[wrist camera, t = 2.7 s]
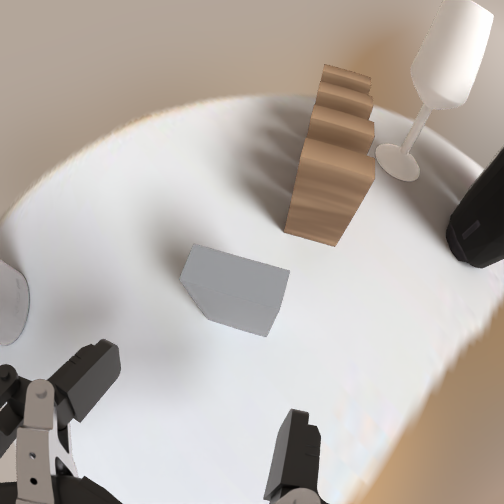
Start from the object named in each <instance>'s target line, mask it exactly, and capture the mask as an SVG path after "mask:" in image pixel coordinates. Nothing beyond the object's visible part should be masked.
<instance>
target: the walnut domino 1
mask: <svg viewBox="0 0 504 504" xmlns="http://www.w3.org/2000/svg"><path fill="white" fill-rule="evenodd" d="M374 179H375V158H373V157H370V156H367V155H364V154H361V153H358V152H354V151H351V150H348V149H345V148H342V147H338V146H335V145H331V144H328V143H324V142H321V141H317V140H313V139H310V138H305V142H304V145H303V149H302V153H301V157H300V161H299V166H298V171H297V175H296V180H295V185H294V189H293V194H292V198H291V203H290V207H289V212H288V216H287V220H286V225H285V229H284V233H287V234H291V235H295V236H298V237H302V238H306V239H309V240H313V241H316V242H320V243H323V244H327V245H330V246H334V247H335V246H336V244H337V243H338V241H339V240H340V238H341V236H342V235H343V233H344V231H345V230H346V228H347V226H348V225H349V223H350V221H351V220H352V218H353V216H354V215H355V213H356V211H357V209H358V208H359V206H360V204H361V202H362V201H363V199H364V197H365V195H366V194H367V192H368V190H369V188H370V187H371V185H372V183H373V181H374Z"/></svg>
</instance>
